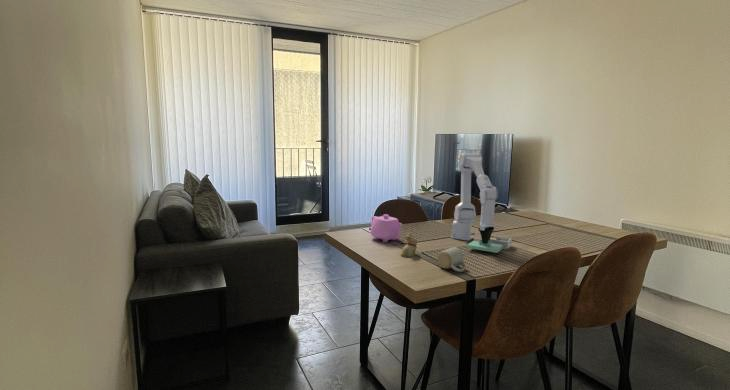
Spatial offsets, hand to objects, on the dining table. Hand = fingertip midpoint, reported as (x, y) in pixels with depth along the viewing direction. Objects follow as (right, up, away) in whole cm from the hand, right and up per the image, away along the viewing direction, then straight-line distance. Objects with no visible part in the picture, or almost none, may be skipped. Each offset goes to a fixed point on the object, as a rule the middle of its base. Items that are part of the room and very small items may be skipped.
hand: (485, 242), depth 180 cm
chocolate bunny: (-36, -5, -7) cm, 37 cm away
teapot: (-45, -1, +18) cm, 48 cm away
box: (+8, -3, +9) cm, 13 cm away
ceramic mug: (-20, -7, -24) cm, 32 cm away
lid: (0, -2, 0) cm, 2 cm away
